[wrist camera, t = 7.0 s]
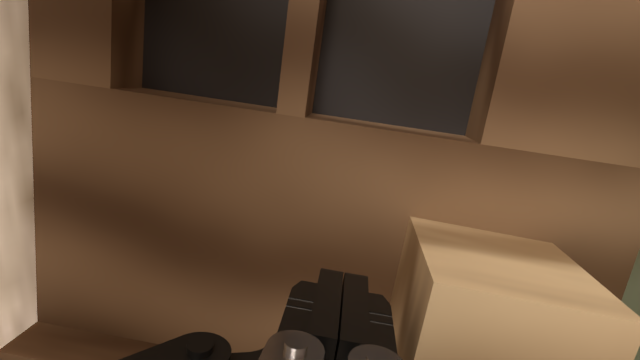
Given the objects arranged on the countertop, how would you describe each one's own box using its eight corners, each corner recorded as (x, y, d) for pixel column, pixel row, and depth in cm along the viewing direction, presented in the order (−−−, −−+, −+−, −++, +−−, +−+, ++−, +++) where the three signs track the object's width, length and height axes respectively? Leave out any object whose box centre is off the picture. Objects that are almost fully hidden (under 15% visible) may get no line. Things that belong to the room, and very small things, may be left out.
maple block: (410, 216, 15) (434, 282, 10) (552, 242, 15) (648, 324, 10) (381, 338, 16) (390, 449, 11) (513, 364, 16) (580, 490, 11)
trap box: (75, -84, 16) (-136, -205, 9) (703, -6, 15) (1002, -81, 8) (77, 310, 20) (-68, 427, 13) (566, 401, 19) (683, 585, 12)
